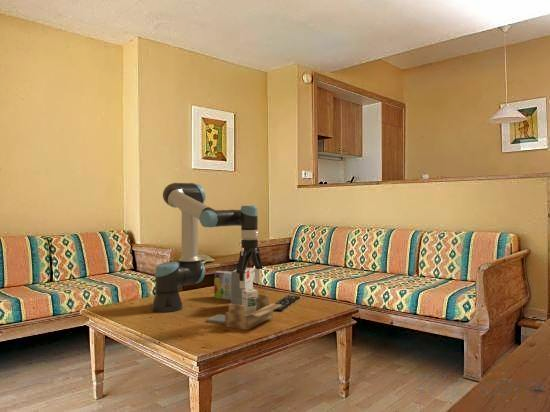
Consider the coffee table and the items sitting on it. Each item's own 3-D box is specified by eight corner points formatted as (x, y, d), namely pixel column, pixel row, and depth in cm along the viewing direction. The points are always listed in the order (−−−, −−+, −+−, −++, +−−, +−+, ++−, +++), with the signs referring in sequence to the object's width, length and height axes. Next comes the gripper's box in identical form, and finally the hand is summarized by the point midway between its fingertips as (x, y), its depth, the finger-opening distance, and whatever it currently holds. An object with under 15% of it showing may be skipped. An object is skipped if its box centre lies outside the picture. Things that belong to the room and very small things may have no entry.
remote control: (300, 299, 248) (300, 295, 248) (281, 312, 218) (281, 308, 218) (287, 298, 250) (287, 294, 250) (267, 311, 220) (267, 307, 220)
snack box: (250, 300, 244) (249, 273, 243) (244, 302, 239) (244, 274, 239) (219, 296, 255) (219, 270, 254) (213, 298, 250) (213, 271, 250)
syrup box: (247, 323, 197) (246, 291, 197) (241, 320, 202) (241, 289, 202) (258, 322, 200) (258, 290, 200) (253, 318, 205) (252, 288, 205)
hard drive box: (245, 312, 218) (245, 272, 217) (230, 311, 219) (230, 271, 219) (253, 304, 233) (253, 267, 233) (239, 304, 235) (239, 266, 234)
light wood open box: (225, 326, 193) (225, 303, 193) (251, 313, 214) (251, 293, 214) (258, 331, 186) (258, 307, 186) (282, 317, 207) (282, 296, 207)
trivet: (206, 321, 201) (206, 319, 201) (218, 316, 210) (218, 314, 210) (224, 324, 197) (224, 321, 197) (236, 318, 206) (236, 316, 206)
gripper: (242, 241, 188) (243, 291, 188) (269, 237, 210) (270, 281, 210) (227, 241, 191) (228, 289, 191) (255, 236, 213) (256, 280, 213)
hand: (250, 285), depth 201 cm, fingers open, 13 cm apart
